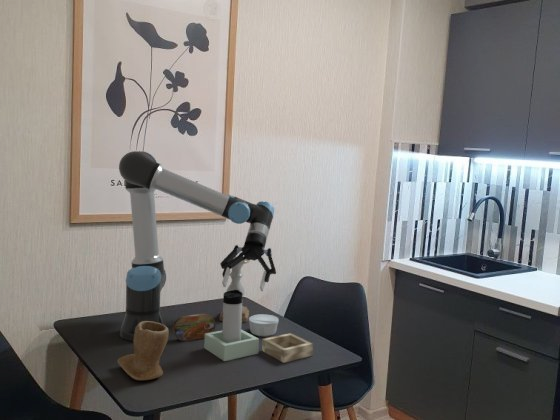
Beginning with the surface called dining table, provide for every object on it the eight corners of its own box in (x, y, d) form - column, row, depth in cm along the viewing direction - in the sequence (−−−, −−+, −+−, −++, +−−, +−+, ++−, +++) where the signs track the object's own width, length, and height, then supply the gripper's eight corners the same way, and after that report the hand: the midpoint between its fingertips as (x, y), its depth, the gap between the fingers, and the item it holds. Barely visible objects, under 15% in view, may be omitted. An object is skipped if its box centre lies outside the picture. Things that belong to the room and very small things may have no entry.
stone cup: (173, 378, 149) (175, 327, 147) (133, 386, 142) (134, 333, 140) (154, 360, 161) (155, 313, 160) (116, 367, 154) (117, 318, 153)
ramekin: (254, 339, 184) (255, 324, 184) (243, 329, 194) (244, 315, 194) (283, 335, 189) (283, 321, 188) (271, 326, 199) (271, 313, 198)
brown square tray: (283, 362, 163) (284, 350, 163) (261, 350, 173) (262, 339, 173) (312, 355, 171) (313, 343, 170) (290, 344, 180) (290, 333, 180)
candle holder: (222, 313, 213) (224, 255, 211) (249, 314, 213) (251, 257, 210) (218, 321, 202) (221, 261, 200) (246, 322, 202) (249, 262, 199)
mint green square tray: (224, 361, 162) (224, 345, 162) (204, 348, 173) (204, 333, 172) (258, 353, 170) (258, 338, 170) (237, 341, 181) (237, 327, 180)
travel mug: (243, 348, 174) (246, 290, 172) (235, 355, 167) (237, 295, 165) (226, 346, 176) (228, 288, 174) (218, 352, 169) (220, 293, 168)
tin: (174, 342, 177) (174, 318, 176) (171, 339, 180) (172, 315, 179) (215, 337, 184) (216, 314, 183) (212, 334, 187) (213, 311, 186)
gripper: (290, 246, 191) (279, 296, 178) (227, 241, 197) (211, 288, 184) (288, 234, 185) (276, 285, 172) (222, 229, 191) (206, 277, 178)
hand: (242, 287), depth 178 cm, fingers open, 13 cm apart
